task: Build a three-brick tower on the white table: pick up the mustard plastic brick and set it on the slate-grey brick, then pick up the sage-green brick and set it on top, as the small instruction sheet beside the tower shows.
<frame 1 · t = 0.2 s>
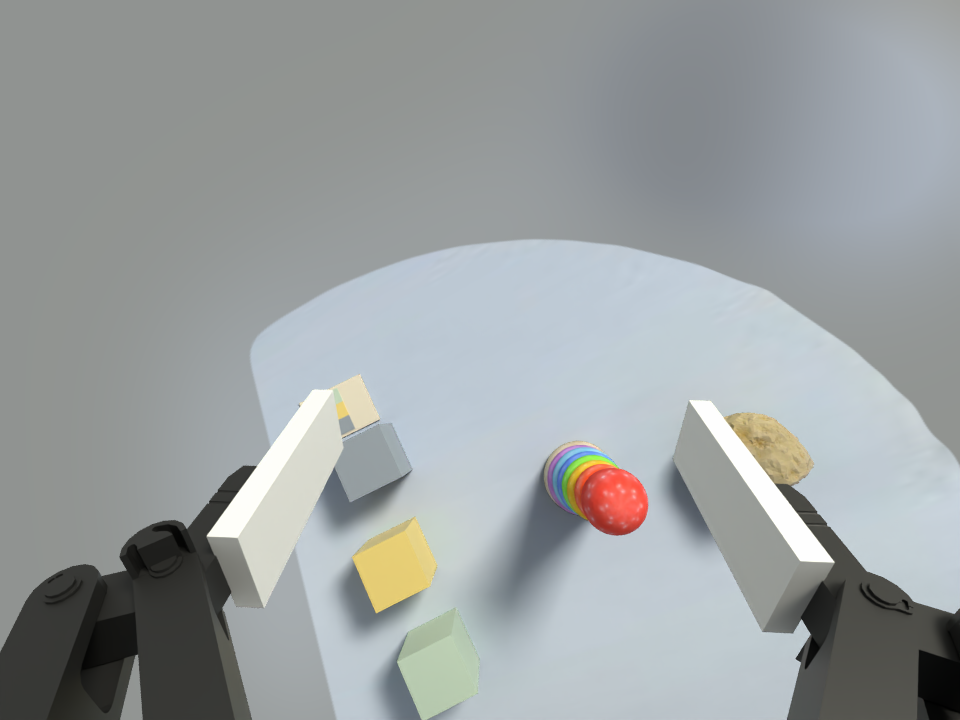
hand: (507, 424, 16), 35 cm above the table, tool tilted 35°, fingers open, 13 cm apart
instruction sheet: (339, 411, 52), on the table
slate brick: (379, 457, 51), on the table
stacking toy: (576, 475, 50), on the table
mustard brick: (402, 552, 50), on the table
tan rough rounded lump: (727, 449, 50), on the table
sage brick: (443, 644, 48), on the table
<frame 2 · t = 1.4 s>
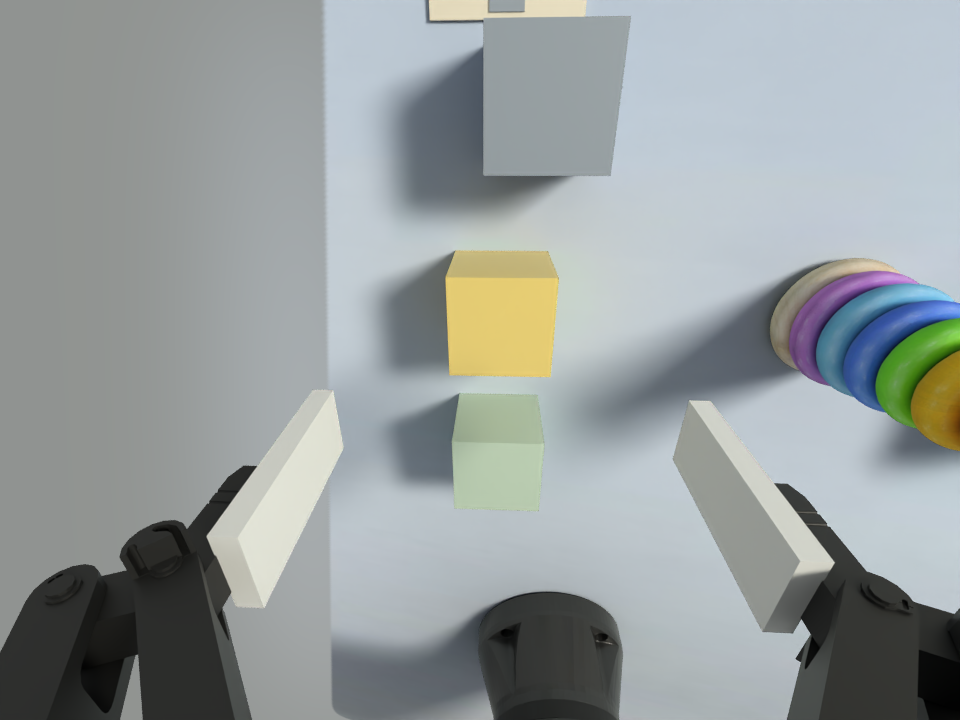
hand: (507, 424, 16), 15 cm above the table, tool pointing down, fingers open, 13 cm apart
slate brick: (540, 108, 24), on the table
stacking toy: (824, 312, 29), on the table
mustard brick: (500, 294, 30), on the table
sage brick: (497, 425, 35), on the table
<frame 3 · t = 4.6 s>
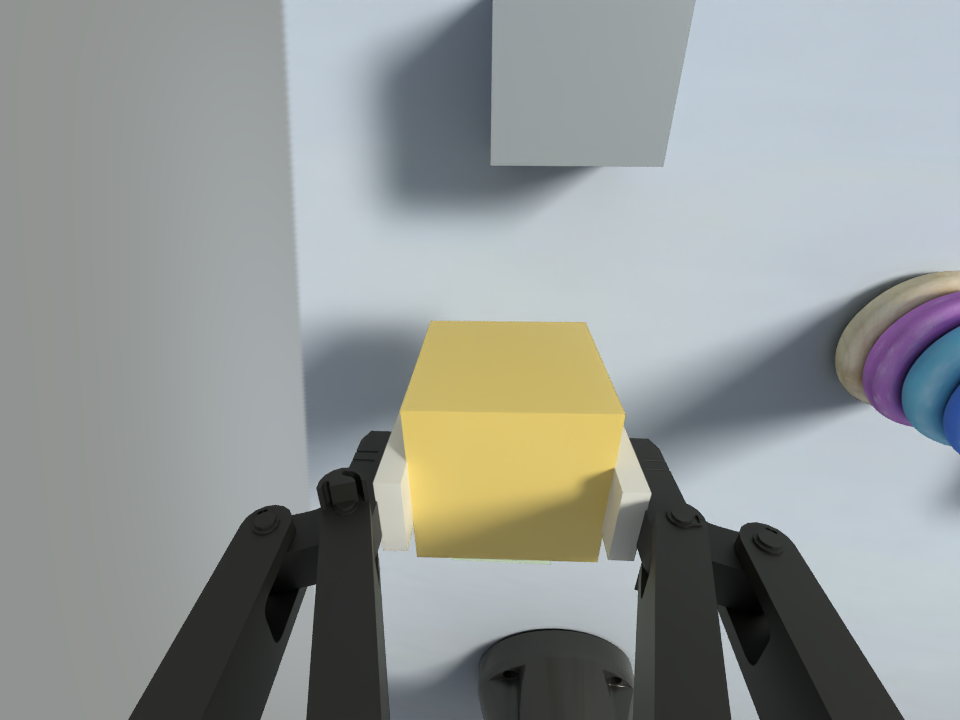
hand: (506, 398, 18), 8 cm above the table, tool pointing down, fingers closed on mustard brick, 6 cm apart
slate brick: (564, 76, 19), on the table
stacking toy: (903, 334, 24), on the table
mustard brick: (506, 386, 18), point 7 cm above the table, touching gripper
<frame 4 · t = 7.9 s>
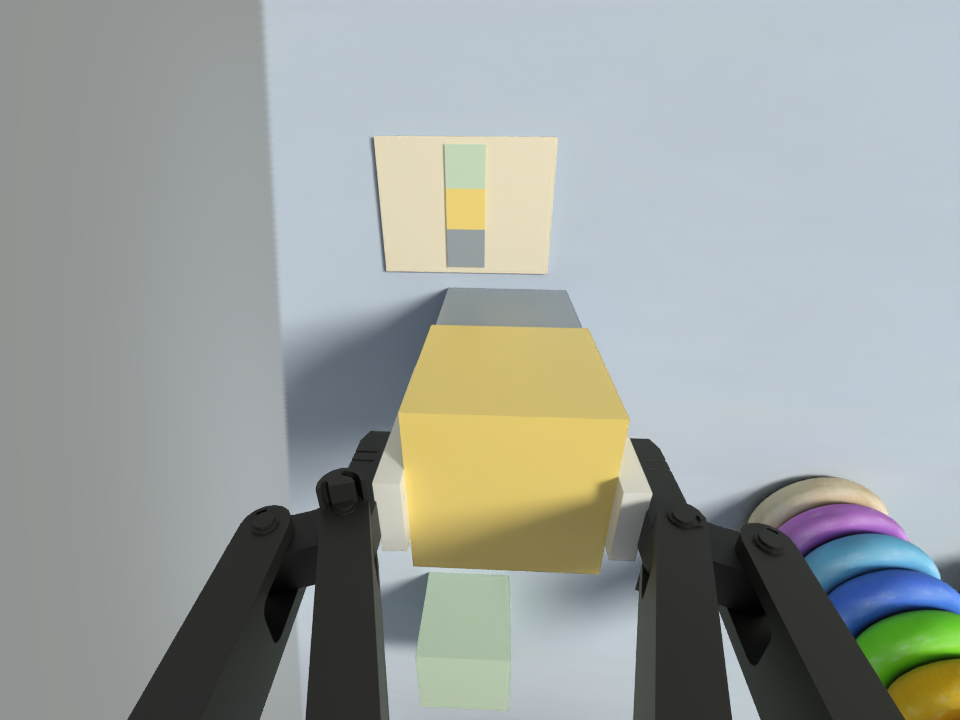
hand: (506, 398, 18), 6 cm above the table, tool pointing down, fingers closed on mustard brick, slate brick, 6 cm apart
instruction sheet: (466, 208, 20), on the table
slate brick: (504, 341, 23), on the table, touching gripper, mustard brick
stacking toy: (802, 515, 28), on the table
mustard brick: (506, 393, 18), point 6 cm above the table, touching gripper, slate brick
sage brick: (469, 598, 34), on the table
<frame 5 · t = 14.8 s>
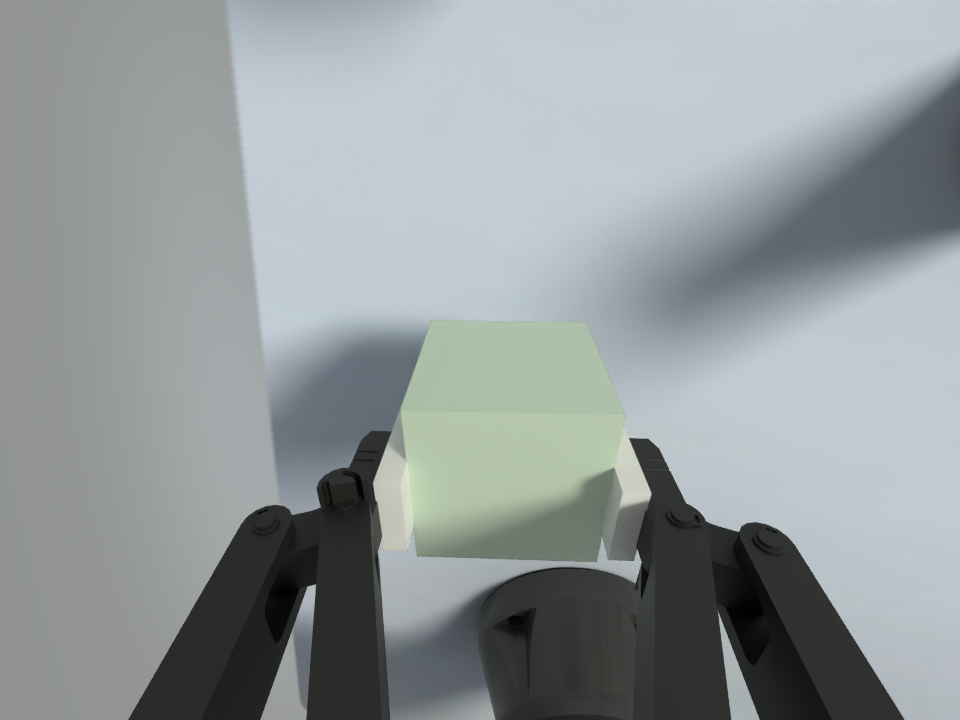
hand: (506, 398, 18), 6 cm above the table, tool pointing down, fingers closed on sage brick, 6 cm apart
sage brick: (506, 386, 18), point 6 cm above the table, touching gripper
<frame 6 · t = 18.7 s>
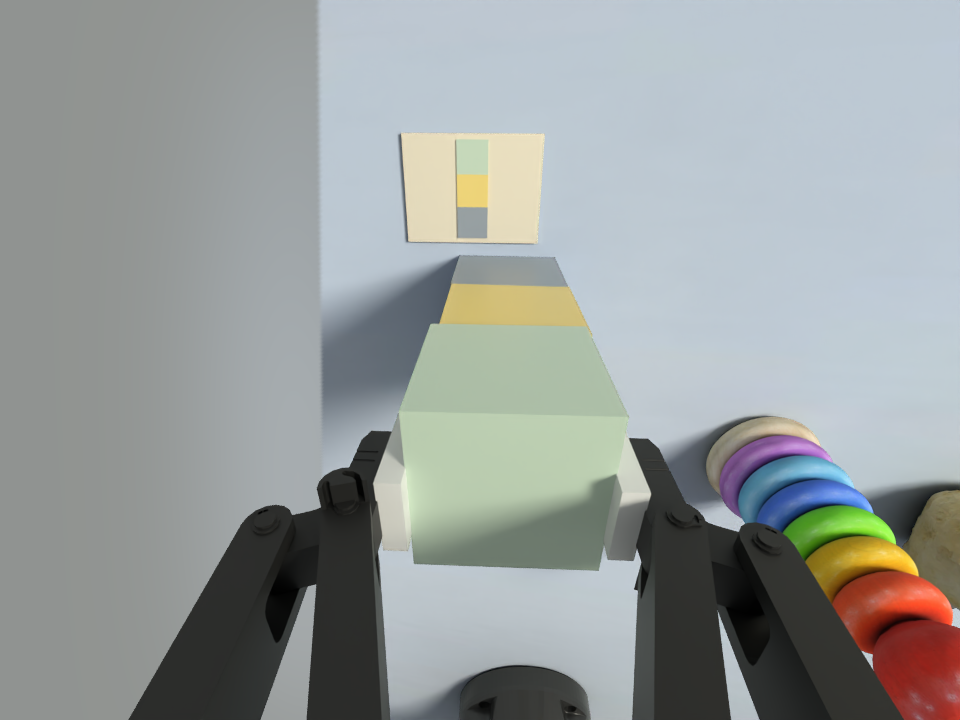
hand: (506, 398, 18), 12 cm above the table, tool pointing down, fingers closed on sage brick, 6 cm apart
instruction sheet: (472, 190, 26), on the table
slate brick: (505, 301, 29), on the table, touching mustard brick
stacking toy: (753, 452, 34), on the table
mustard brick: (507, 338, 23), point 6 cm above the table, touching gripper, sage brick, slate brick
tan rough rounded lump: (945, 506, 36), on the table
sage brick: (505, 391, 18), point 12 cm above the table, touching gripper, mustard brick
when the fingers open (12 cm above the table, at t = 18.9 s): sage brick stays where it is, resting on mustard brick.
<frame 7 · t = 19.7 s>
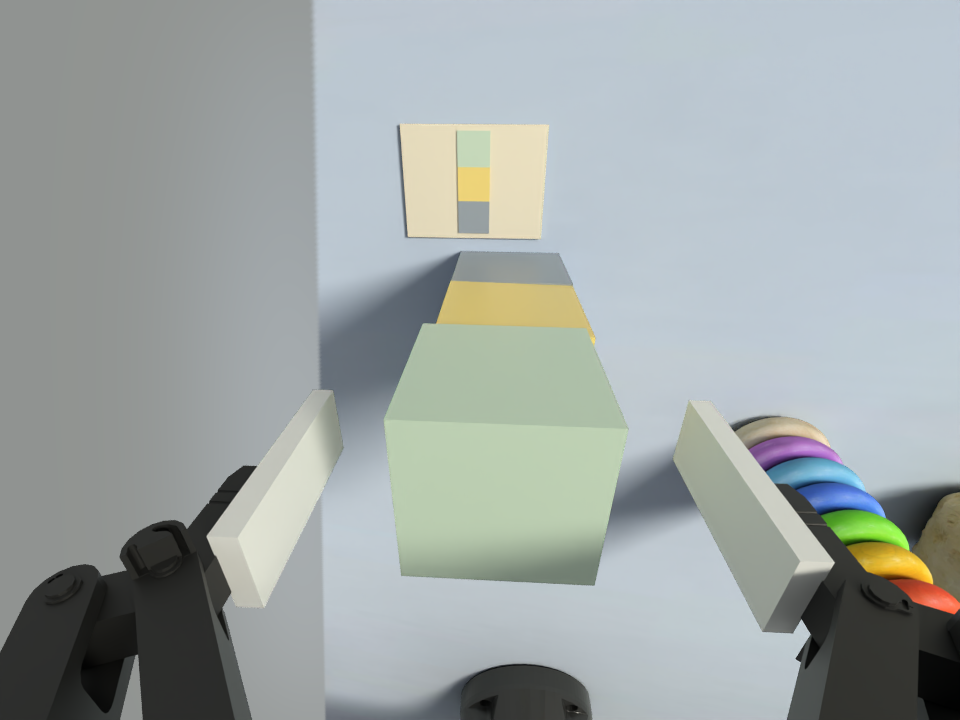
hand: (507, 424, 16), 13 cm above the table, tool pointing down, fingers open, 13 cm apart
instruction sheet: (474, 184, 25), on the table
slate brick: (507, 298, 28), on the table, touching mustard brick
stacking toy: (761, 453, 33), on the table
mustard brick: (507, 338, 23), point 6 cm above the table, touching sage brick, slate brick
tan rough rounded lump: (956, 508, 35), on the table
sage brick: (501, 394, 17), point 12 cm above the table, touching mustard brick
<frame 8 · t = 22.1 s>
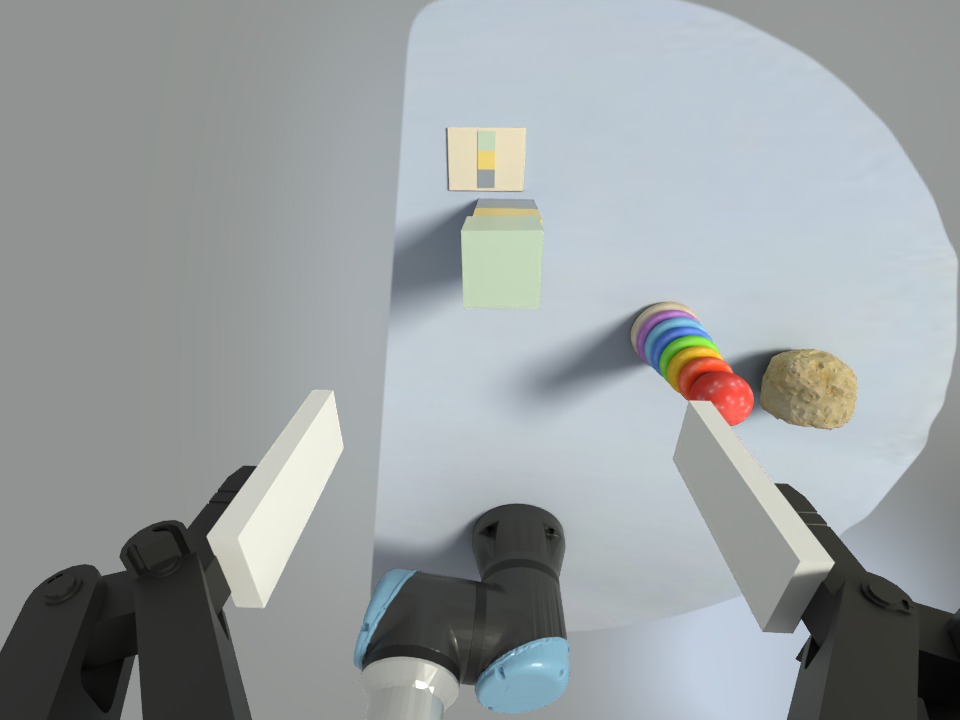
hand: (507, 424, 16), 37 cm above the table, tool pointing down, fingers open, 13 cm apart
instruction sheet: (486, 159, 45), on the table
slate brick: (505, 227, 49), on the table, touching mustard brick
stacking toy: (661, 329, 54), on the table
mustard brick: (505, 239, 43), point 6 cm above the table, touching sage brick, slate brick
tan rough rounded lump: (787, 367, 56), on the table
sage brick: (502, 251, 38), point 12 cm above the table, touching mustard brick
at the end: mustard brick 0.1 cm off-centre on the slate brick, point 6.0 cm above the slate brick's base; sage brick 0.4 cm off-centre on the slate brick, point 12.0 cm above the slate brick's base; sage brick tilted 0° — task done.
